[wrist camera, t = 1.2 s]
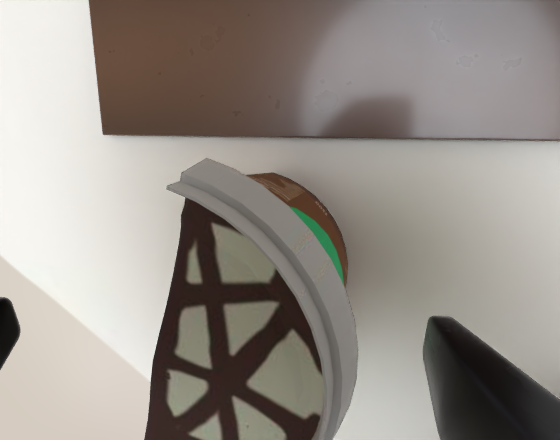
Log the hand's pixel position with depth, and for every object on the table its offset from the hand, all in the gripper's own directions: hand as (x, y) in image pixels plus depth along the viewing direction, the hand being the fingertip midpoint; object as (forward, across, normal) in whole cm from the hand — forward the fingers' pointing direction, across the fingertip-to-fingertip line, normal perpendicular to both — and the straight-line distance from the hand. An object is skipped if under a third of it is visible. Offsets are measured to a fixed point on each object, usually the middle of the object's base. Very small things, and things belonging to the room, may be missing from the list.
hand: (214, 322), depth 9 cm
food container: (+11, -2, +6) cm, 12 cm away
